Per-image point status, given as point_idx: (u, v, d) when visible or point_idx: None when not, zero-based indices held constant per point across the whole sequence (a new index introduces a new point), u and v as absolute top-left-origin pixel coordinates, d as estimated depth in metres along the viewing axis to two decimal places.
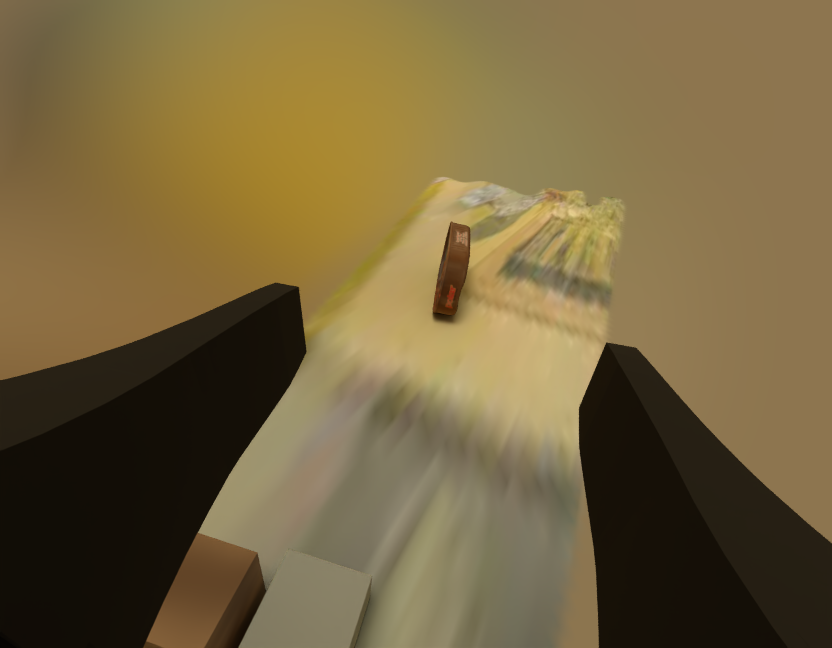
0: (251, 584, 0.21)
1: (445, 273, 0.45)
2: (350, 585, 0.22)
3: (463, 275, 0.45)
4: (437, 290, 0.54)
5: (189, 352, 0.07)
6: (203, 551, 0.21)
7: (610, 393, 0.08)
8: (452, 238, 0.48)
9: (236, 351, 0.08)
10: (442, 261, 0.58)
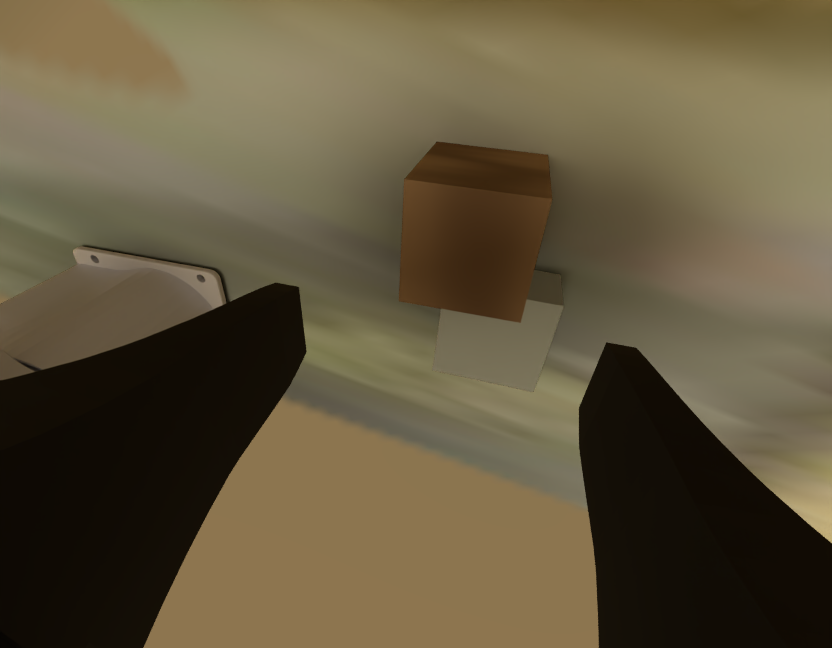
0: None
1: None
2: (521, 373, 0.20)
3: None
4: None
5: (189, 352, 0.07)
6: (515, 256, 0.14)
7: (610, 393, 0.08)
8: None
9: (236, 351, 0.08)
10: None
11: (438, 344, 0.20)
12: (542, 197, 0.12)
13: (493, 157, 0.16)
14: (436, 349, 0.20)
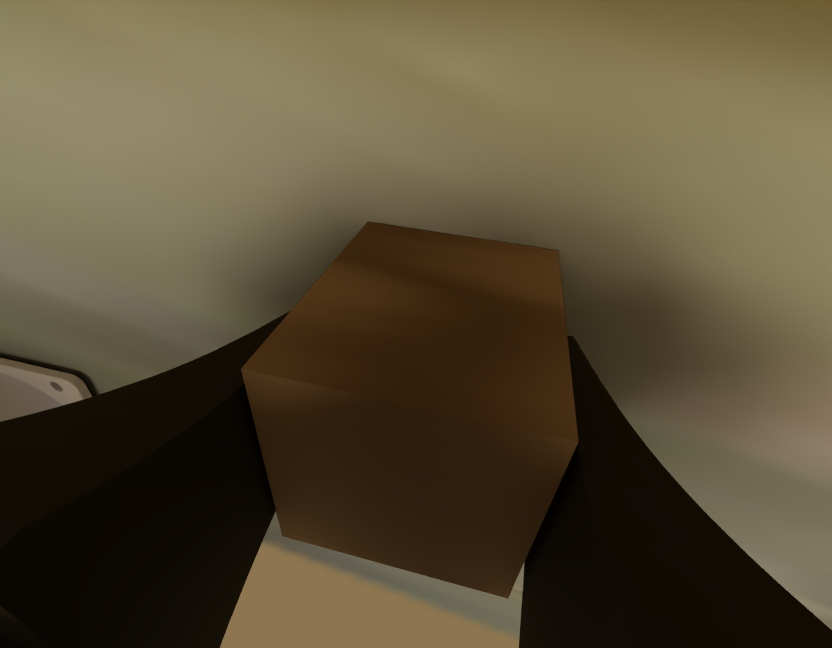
0: None
1: None
2: None
3: None
4: None
5: None
6: (494, 516, 0.06)
7: None
8: None
9: None
10: None
11: None
12: (554, 434, 0.05)
13: (459, 265, 0.09)
14: None
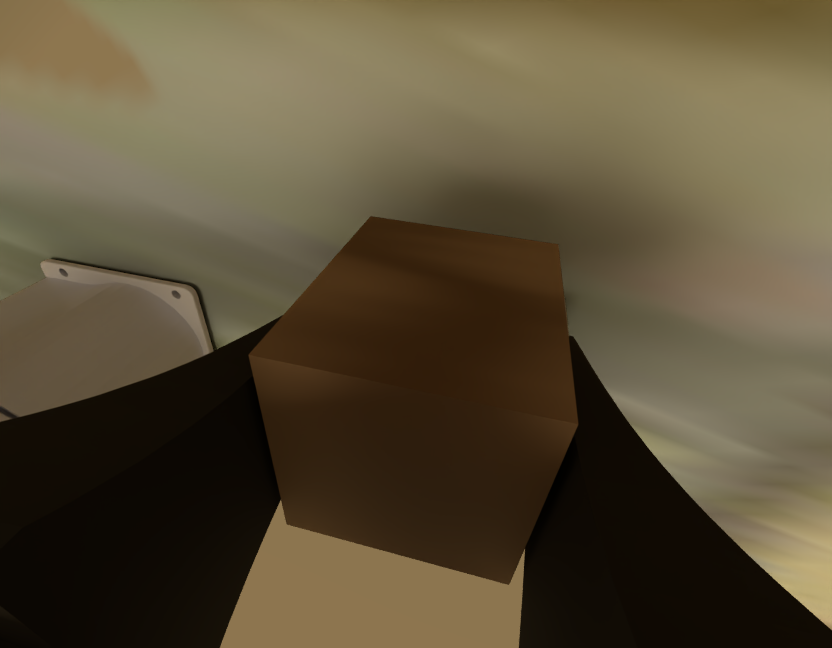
0: None
1: None
2: None
3: None
4: None
5: None
6: (495, 500, 0.06)
7: None
8: None
9: None
10: None
11: None
12: (555, 418, 0.05)
13: (460, 258, 0.09)
14: None
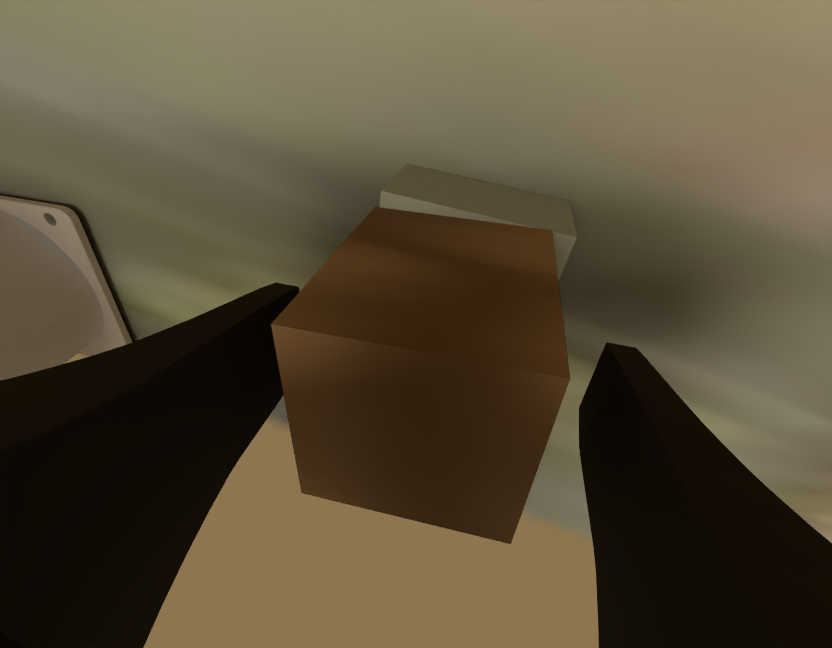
0: None
1: None
2: None
3: None
4: None
5: (189, 352, 0.07)
6: (497, 458, 0.07)
7: (610, 393, 0.08)
8: None
9: (236, 351, 0.08)
10: None
11: None
12: (549, 373, 0.06)
13: (461, 242, 0.09)
14: None
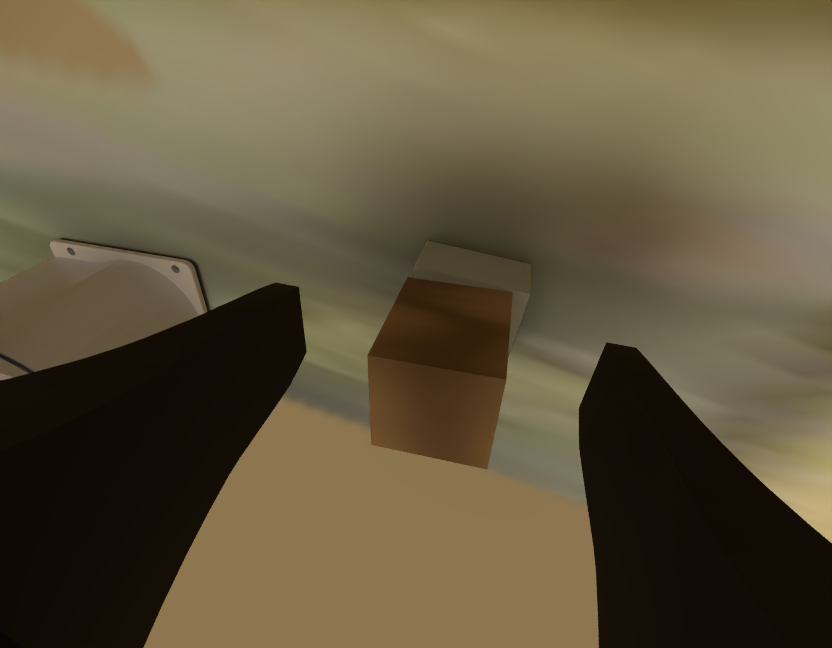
0: None
1: None
2: None
3: None
4: None
5: (189, 352, 0.07)
6: (476, 419, 0.14)
7: (610, 393, 0.08)
8: None
9: (236, 351, 0.08)
10: None
11: None
12: (496, 377, 0.13)
13: (458, 303, 0.17)
14: None
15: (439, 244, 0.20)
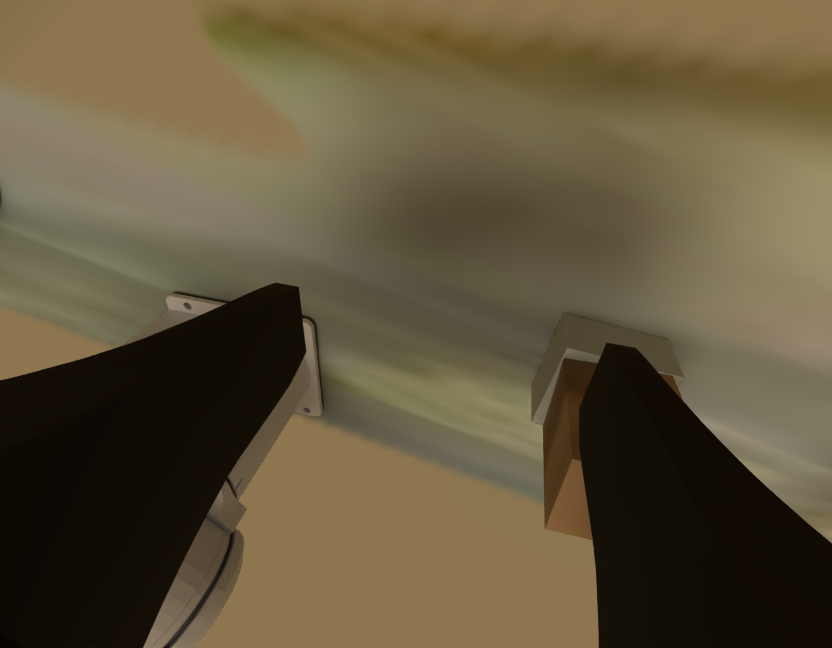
0: None
1: None
2: None
3: None
4: None
5: (189, 352, 0.07)
6: None
7: (610, 393, 0.08)
8: None
9: (236, 351, 0.08)
10: None
11: (544, 399, 0.20)
12: None
13: None
14: (541, 404, 0.20)
15: (576, 317, 0.20)
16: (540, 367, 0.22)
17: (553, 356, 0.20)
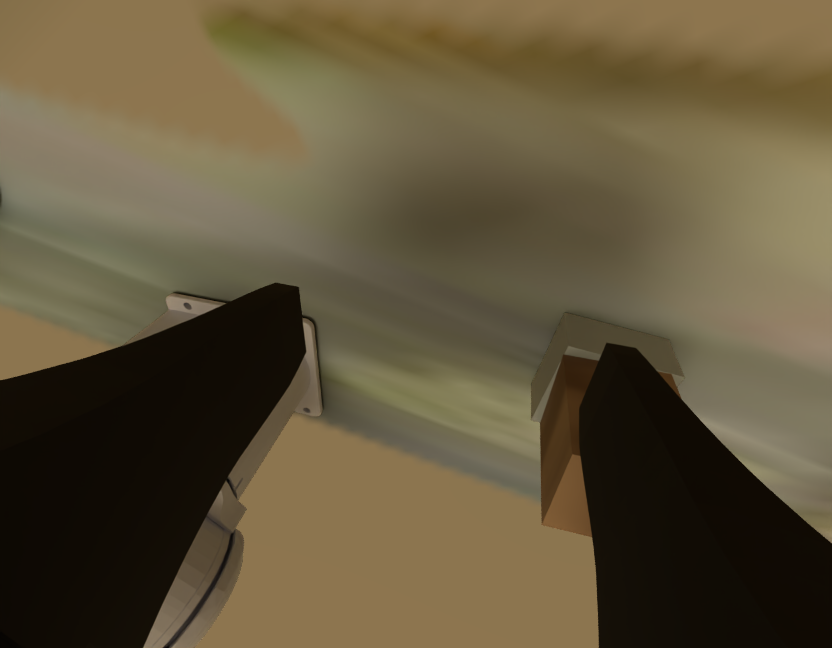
0: None
1: None
2: None
3: None
4: None
5: (189, 352, 0.07)
6: None
7: (610, 393, 0.08)
8: None
9: (236, 351, 0.08)
10: None
11: (544, 398, 0.20)
12: None
13: None
14: (541, 402, 0.20)
15: (577, 316, 0.20)
16: (540, 365, 0.22)
17: (554, 354, 0.20)
